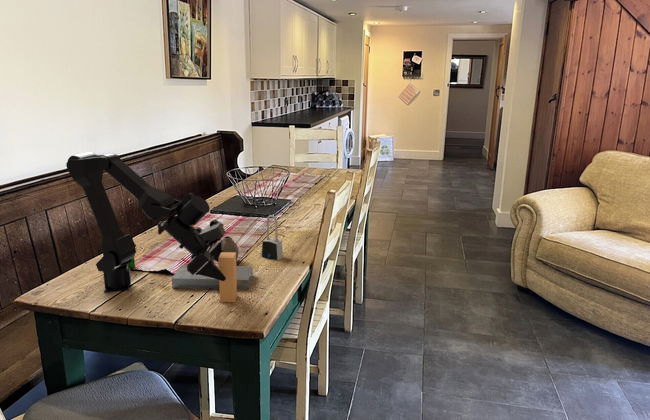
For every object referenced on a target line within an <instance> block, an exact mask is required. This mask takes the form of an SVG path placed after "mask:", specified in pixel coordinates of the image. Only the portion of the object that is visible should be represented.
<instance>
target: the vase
mask: <svg viewBox="0 0 650 420" xmlns="http://www.w3.org/2000/svg"><path fill="white" fill-rule="evenodd" d="M222 238H223V244H222V248H223V250H224V252H234V253H236V261H237V259H238V258H239V247H238V244H237V243H236V242H235V241H234V239H233V238H232V237H231V236H230V235H226V236H225V235H224V236H223V237H222Z"/></svg>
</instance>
